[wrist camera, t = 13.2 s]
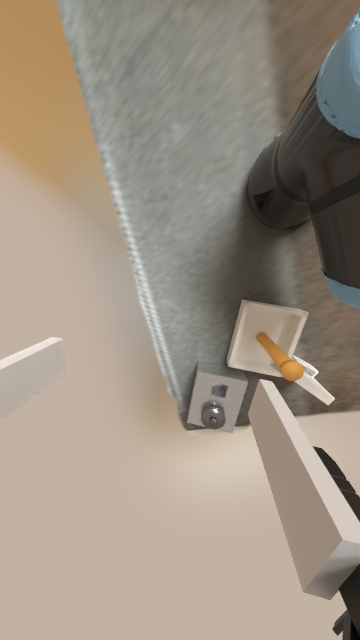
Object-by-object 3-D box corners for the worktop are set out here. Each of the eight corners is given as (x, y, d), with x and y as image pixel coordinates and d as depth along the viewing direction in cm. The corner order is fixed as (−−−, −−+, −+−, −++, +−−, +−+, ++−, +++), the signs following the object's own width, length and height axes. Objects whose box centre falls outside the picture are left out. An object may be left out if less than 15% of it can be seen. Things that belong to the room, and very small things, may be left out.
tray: (242, 299, 40) (245, 301, 37) (299, 309, 39) (308, 312, 36) (226, 359, 45) (228, 366, 41) (277, 369, 44) (283, 377, 40)
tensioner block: (198, 360, 46) (197, 377, 39) (243, 369, 45) (251, 389, 38) (188, 408, 51) (186, 431, 43) (229, 417, 50) (233, 442, 42)
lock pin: (256, 329, 41) (286, 361, 27) (270, 332, 41) (307, 365, 26) (252, 341, 42) (279, 378, 28) (266, 344, 42) (300, 382, 27)
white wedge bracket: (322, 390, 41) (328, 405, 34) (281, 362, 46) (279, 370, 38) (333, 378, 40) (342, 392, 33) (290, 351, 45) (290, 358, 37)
